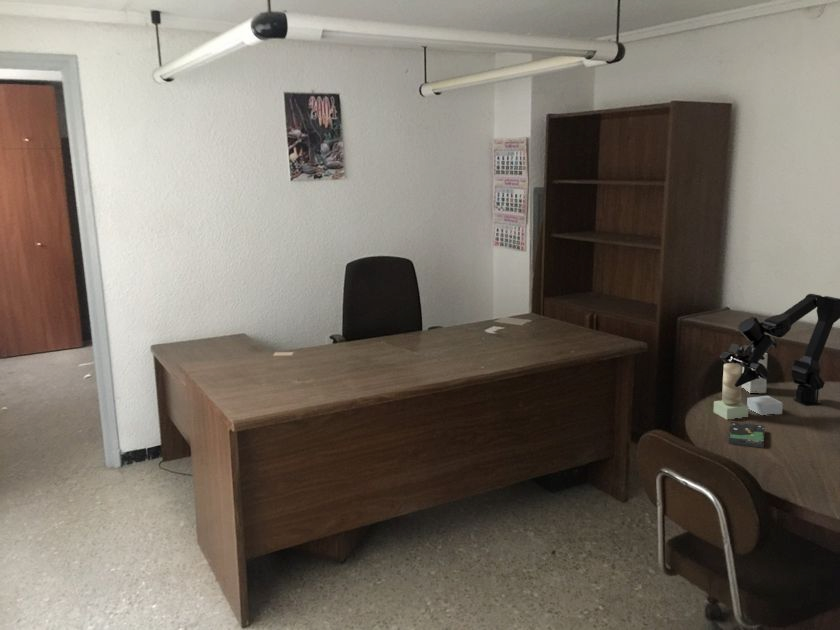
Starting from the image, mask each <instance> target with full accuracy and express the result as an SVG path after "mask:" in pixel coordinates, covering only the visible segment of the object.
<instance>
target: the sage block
mask: <svg viewBox="0 0 840 630" xmlns="http://www.w3.org/2000/svg"><path fill="white" fill-rule="evenodd" d="M712 412H713V413H714V414H715V415H718V416H720V417H721V418H723V419H725V420H728V419H729V420H736V419H735V418H738V419H743V418H742V417H747V418H749V406H747V404H745V403H743V402H741V403H740V404H727V403H724V402H722V399H721V400H714V401H713V411H712Z"/></svg>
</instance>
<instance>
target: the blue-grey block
mask: <svg viewBox="0 0 840 630" xmlns="http://www.w3.org/2000/svg"><path fill="white" fill-rule="evenodd" d="M746 399H747V401H746V405H747V406H749V409H750V410H749V409H748V410H749V411H751V410H752V411H751V412H753V411H754V412H756V413H758V414H760V415H766V416H768V415H767V414H775V415H782V414H783V406H784V405H783V402H781V401H780V400H777V399H776V398H774V397H771V396H769V395H762V396H752V397H747V398H746ZM754 412H753V413H754ZM756 413H755V414H756ZM758 414H757V415H758ZM760 415H759V416H760Z"/></svg>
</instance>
